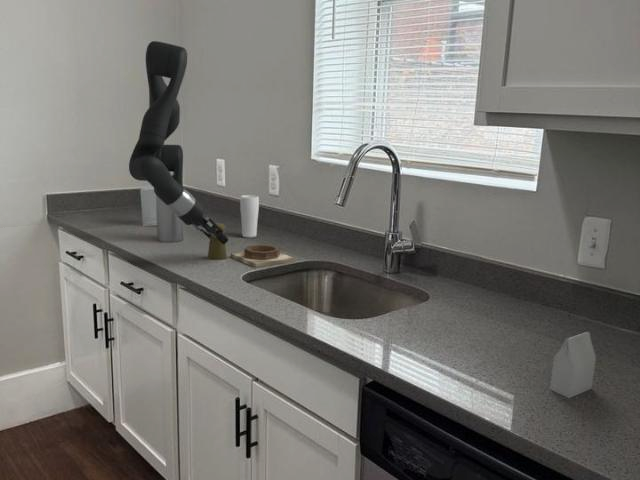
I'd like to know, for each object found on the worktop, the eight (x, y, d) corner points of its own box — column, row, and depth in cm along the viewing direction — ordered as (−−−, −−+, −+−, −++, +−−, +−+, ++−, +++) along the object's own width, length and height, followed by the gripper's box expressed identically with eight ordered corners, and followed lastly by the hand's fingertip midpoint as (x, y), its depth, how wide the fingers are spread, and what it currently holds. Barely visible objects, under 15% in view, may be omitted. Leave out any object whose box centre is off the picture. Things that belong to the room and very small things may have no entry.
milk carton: (591, 388, 102) (599, 335, 100) (569, 398, 98) (576, 343, 96) (572, 380, 105) (579, 328, 103) (549, 389, 101) (556, 335, 99)
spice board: (230, 257, 184) (230, 246, 183) (267, 251, 193) (268, 241, 192) (255, 267, 173) (255, 256, 172) (294, 261, 181) (294, 250, 180)
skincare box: (164, 223, 234) (163, 186, 230) (163, 226, 228) (162, 188, 225) (142, 223, 232) (141, 186, 229) (141, 226, 226) (140, 188, 223)
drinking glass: (236, 237, 213) (236, 196, 210) (245, 233, 219) (246, 194, 216) (253, 239, 211) (253, 198, 207) (261, 235, 217) (262, 196, 213)
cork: (222, 260, 179) (222, 225, 177) (204, 259, 181) (204, 224, 178) (229, 256, 185) (229, 222, 183) (211, 254, 186) (211, 221, 184)
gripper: (203, 199, 168) (238, 234, 178) (182, 193, 179) (216, 226, 189) (187, 219, 166) (222, 253, 176) (166, 211, 177) (201, 244, 186)
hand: (219, 239), depth 182 cm, fingers open, 8 cm apart
